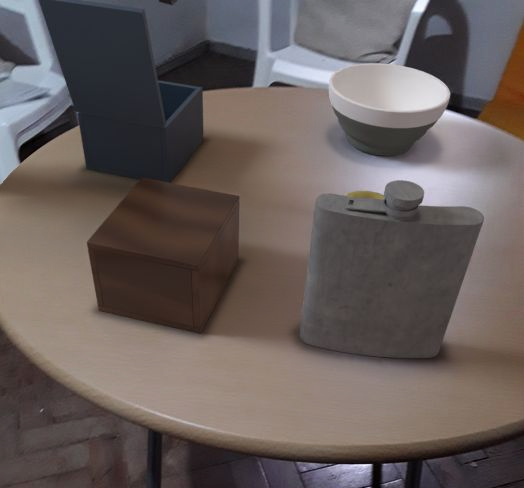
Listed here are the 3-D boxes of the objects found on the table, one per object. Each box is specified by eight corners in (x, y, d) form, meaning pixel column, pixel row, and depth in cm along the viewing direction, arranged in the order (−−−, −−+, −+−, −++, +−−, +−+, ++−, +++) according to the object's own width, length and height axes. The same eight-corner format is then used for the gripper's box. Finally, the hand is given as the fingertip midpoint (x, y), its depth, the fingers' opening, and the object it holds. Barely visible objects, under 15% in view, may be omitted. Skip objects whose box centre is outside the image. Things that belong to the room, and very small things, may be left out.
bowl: (423, 180, 99) (438, 122, 92) (306, 153, 104) (312, 95, 97) (445, 130, 112) (459, 76, 106) (340, 108, 117) (348, 55, 110)
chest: (128, 126, 108) (122, 74, 101) (203, 140, 105) (202, 87, 99) (86, 169, 97) (77, 113, 90) (169, 184, 94) (165, 128, 88)
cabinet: (147, 242, 84) (141, 177, 77) (238, 261, 82) (239, 195, 75) (98, 310, 73) (86, 241, 67) (200, 333, 71) (198, 265, 65)
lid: (40, -6, 76) (37, -3, 76) (144, 8, 74) (142, 12, 74) (77, 108, 90) (75, 111, 90) (166, 123, 88) (164, 127, 88)
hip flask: (437, 340, 72) (489, 184, 58) (440, 365, 70) (496, 207, 56) (300, 325, 73) (319, 168, 59) (297, 349, 70) (317, 190, 56)
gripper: (97, -225, 55) (96, -6, 66) (242, -187, 54) (216, 27, 66) (129, -223, 60) (123, -21, 72) (261, -188, 60) (234, 9, 71)
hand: (168, 1), depth 69 cm, fingers closed
